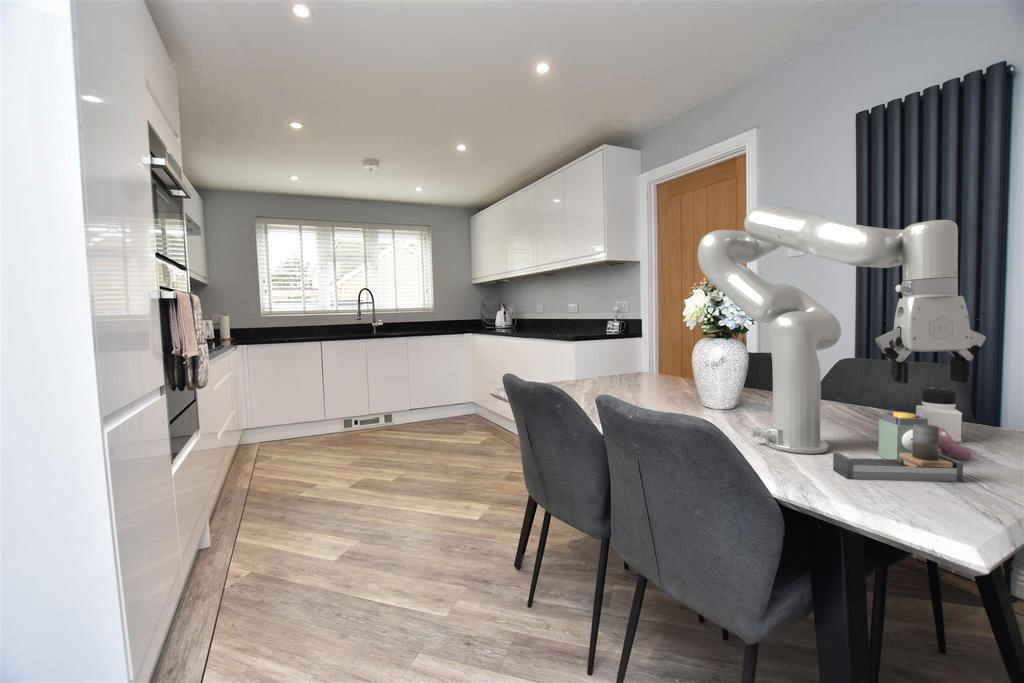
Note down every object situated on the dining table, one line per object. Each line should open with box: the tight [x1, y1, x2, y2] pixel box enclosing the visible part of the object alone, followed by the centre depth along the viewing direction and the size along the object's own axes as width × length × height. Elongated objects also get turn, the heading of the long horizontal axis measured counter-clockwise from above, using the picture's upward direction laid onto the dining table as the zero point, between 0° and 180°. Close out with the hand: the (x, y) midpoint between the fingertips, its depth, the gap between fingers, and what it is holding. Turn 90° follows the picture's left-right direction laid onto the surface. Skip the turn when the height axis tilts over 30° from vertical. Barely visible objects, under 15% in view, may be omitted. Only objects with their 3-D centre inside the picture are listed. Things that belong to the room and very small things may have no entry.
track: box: [832, 452, 964, 483], centre depth 87 cm, size 19×5×4 cm, turn 81°
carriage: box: [899, 424, 953, 467], centre depth 86 cm, size 5×6×8 cm
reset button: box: [892, 411, 916, 418], centre depth 96 cm, size 4×4×2 cm
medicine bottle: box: [915, 387, 963, 444], centre depth 112 cm, size 7×7×12 cm
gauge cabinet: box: [877, 412, 928, 459], centre depth 96 cm, size 6×7×9 cm
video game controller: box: [938, 427, 972, 461], centre depth 100 cm, size 10×5×7 cm, turn 154°
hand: (929, 382), depth 85 cm, fingers open, 9 cm apart
